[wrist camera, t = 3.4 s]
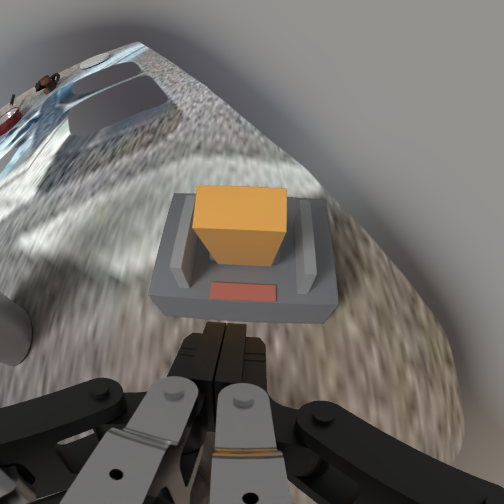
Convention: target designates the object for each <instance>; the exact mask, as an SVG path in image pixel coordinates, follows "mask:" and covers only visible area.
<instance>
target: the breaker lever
mask: <svg viewBox="0 0 504 504" xmlns="http://www.w3.org/2000/svg"><path fill="white" fill-rule="evenodd" d="M286 223H287V189H283V188H265V187H243V186H204V185H197V192H196V200H195V208H194V217H193V226H192V228H193V229H194V231H195V232H196V234H197V235H198V237H199V238H200V239H201V241H202V242H203V244H204V245H205V246H206V248H207V249H208V251H209V252H210V260H211V261H216V262H217V263H218V264H228V265H248V266H269V267H271V265H272V264H279V259H280V245H281V243H282V241H283V238H284V236H285V234H286Z"/></svg>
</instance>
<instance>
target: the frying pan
mask: <svg viewBox="0 0 504 504" xmlns="http://www.w3.org/2000/svg"><path fill="white" fill-rule="evenodd" d="M14 98H15V95H12V98H11V102H10V109H9V111H8V112H6V113H5V114H4V115H2V116H1V117H0V136H1V135H3V134H5V133H6V132H7V131H9V130H10V129H11V128H12V127H13V126H14V125H15V124H16V123H17V122H18V121H19V120H20V118H21V113H20V111H19V108H18V107H15V108H12V106H13V102H14Z"/></svg>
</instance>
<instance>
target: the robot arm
mask: <svg viewBox="0 0 504 504" xmlns="http://www.w3.org/2000/svg"><path fill="white" fill-rule="evenodd" d="M31 339H32V325H31V320H30V317H29V315H28V313H27V312H26V311H25V309H23V308H22V307H20V306H19V305H17V304H16V303H14V302H13V301H12V300H10V299H9V298H8V297H6V296H5V295H4V294H2V293H1V292H0V362H1V363H4V364H6V365H9V366H14V365H17V364H19V363H20V362H21V361H22V360H23V359H24V358H25V356H26V355H27V353H28V350H29V348H30V344H31ZM215 427H216V434H215V449H214V451H213V454H212V467H211V485H210V504H292V502H291V496H290V491H289V485H288V480H289V481H290V482H291V483H293V484H294V485H295V486H296V487H297V488H299V489H300V490H301V491H302V492H304V493H305V494H306V495H307V496H309V497H310V498H311V499H313V500H314V501H315V502H317V503H318V504H504V488H503V487H501V486H499V485H496V484H494V483H491V482H488V481H486V480H483V479H480V478H478V477H475V476H473V475H470V474H468V473H465V472H463V471H461V470H459V469H456V468H454V467H452V466H450V465H447V464H445V463H443V462H441V461H439V460H437V459H434V458H432V457H430V456H428V455H426V454H424V453H422V452H420V451H418V450H416V449H414V448H412V447H410V446H409V445H407V444H405V443H403V442H401V441H399V440H397V439H395V438H394V437H392V436H390V435H388V434H386V433H384V432H383V431H381V430H379V429H377V428H376V427H374V426H372V425H370V424H369V423H367V422H365V421H364V420H362V419H360V418H359V417H357V416H355V415H354V414H352V413H350V412H349V411H347V410H345V409H344V408H342V407H341V406H339V405H337V404H335V403H332V402H328V401H313V402H310V403H307V404H305V405H303V406H302V407H301V408H300V409H299V410H297V409H292V408H288V407H285V406H282V405H280V404H278V403H276V402H275V401H273V400H272V399H271V398H270V396H269V395H268V392H267V380H266V348H265V344H264V343H263V341H262V340H261V339H260V338H257V337H246V324H233V323H227V325H226V323H218V322H207V323H206V326H205V329H204V331H203V334H201V333H192V334H190V335H189V336H188V337H186V338H185V339H184V341H183V343H182V345H181V348H180V349H179V351H178V355H177V356H176V358H175V360H174V362H173V365H172V367H171V369H170V371H169V373H168V375H167V377H165V378H161V379H159V380H157V381H156V382H155V383H153V385H152V386H151V387H150V389H149V390H148V391H147V392H137V393H123V389H122V387H121V385H120V384H119V383H118V382H116V381H114V380H112V379H108V378H96V379H92V380H89V381H86V382H83V383H81V384H78V385H75V386H72V387H69V388H66V389H63V390H60V391H57V392H54V393H51V394H48V395H44V396H41V397H38V398H35V399H32V400H28V401H25V402H21V403H18V404H14V405H11V406H7V407H4V408H0V504H190V492H191V488H192V485H193V482H194V479H195V476H196V473H197V469H198V466H199V463H200V460H201V456H202V453H203V450H204V441H205V436H206V431H212V432H215ZM90 429H93V430H94V432H95V433H94V434H91V435H89V436H86V437H84V438H81V439H79V440H76V441H73V442H71V443H68V444H65V445H60V444H57V442H59V441H61V440H64V439H67V438H69V437H72V436H75V435H77V434H80V433H83V432H85V431H88V430H90ZM66 489H67V490H66ZM63 490H64V491H63ZM60 491H62V492H60ZM57 492H59V493H57ZM54 493H56V494H54ZM51 494H54V495H51ZM48 495H51V496H48ZM45 496H48V497H45ZM41 497H45V498H42V499H39V500H36V499H38V498H41Z"/></svg>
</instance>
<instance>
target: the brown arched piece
mask: <svg viewBox="0 0 504 504" xmlns="http://www.w3.org/2000/svg"><path fill="white" fill-rule="evenodd" d="M55 76H57V79H56V80H55ZM51 79H52V80H51ZM59 79H60V75H59V74H58V73H55V74H53V75H52V76H51V77H49V76H45V77H44V78H42V79H41V80H40V81H39V82H38V83H37V84H36V86H35V88H36V92H37V91H40V90H42V89H44V88H46V89H45V90H44V93H45V94H48V93H49V92H50V91H51V90H53V89H54V88H56V85H57V82H58V81H59Z"/></svg>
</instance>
